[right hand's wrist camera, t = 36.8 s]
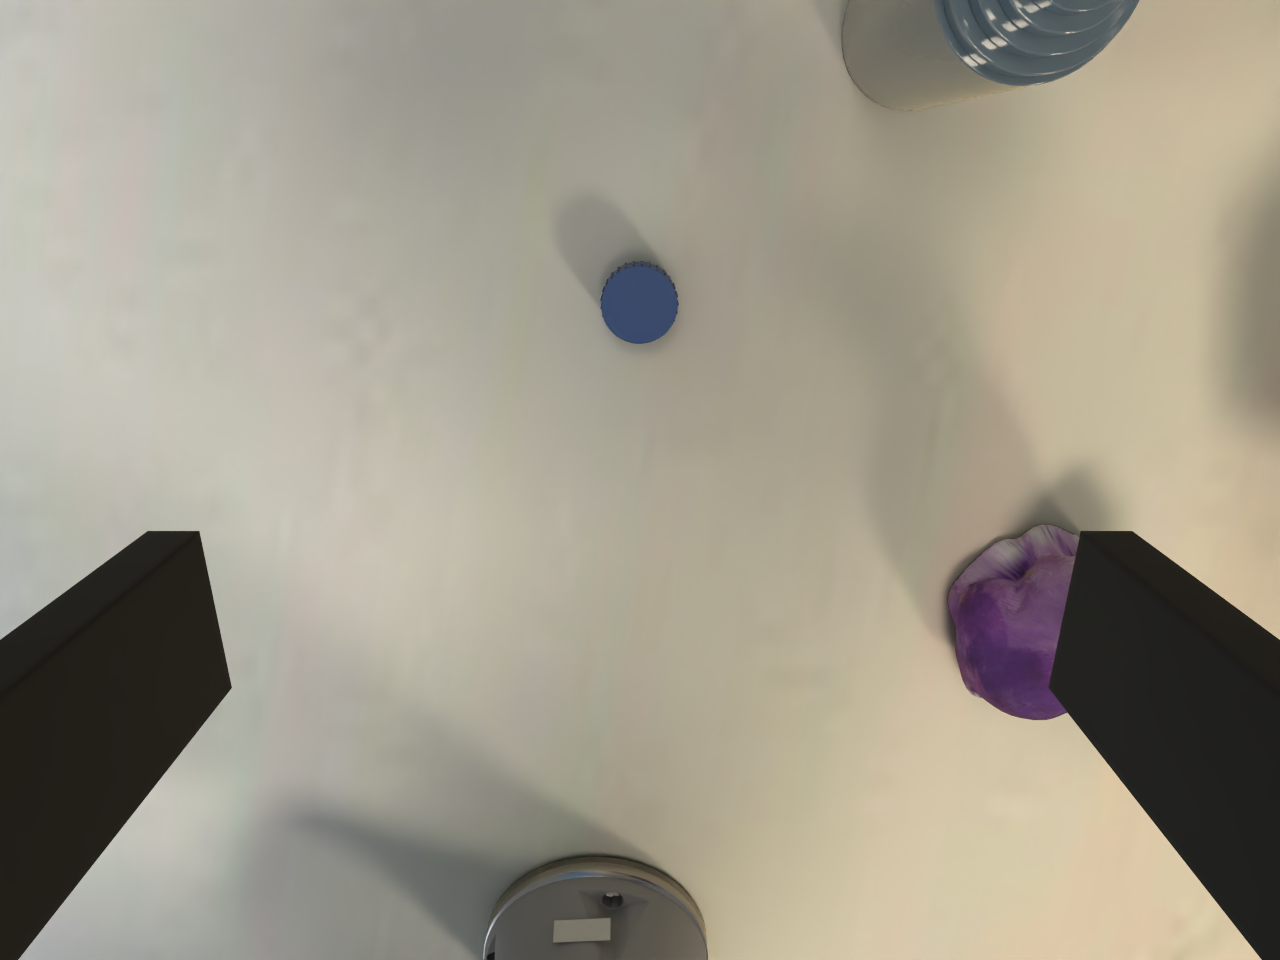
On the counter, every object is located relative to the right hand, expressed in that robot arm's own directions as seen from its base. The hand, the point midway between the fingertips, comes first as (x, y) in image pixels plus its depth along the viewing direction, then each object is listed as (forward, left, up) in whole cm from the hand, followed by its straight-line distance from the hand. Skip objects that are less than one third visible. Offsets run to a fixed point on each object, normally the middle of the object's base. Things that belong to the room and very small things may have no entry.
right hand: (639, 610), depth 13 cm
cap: (0, 0, -30) cm, 30 cm away
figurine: (-26, -9, -32) cm, 42 cm away
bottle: (+3, -17, -32) cm, 36 cm away
